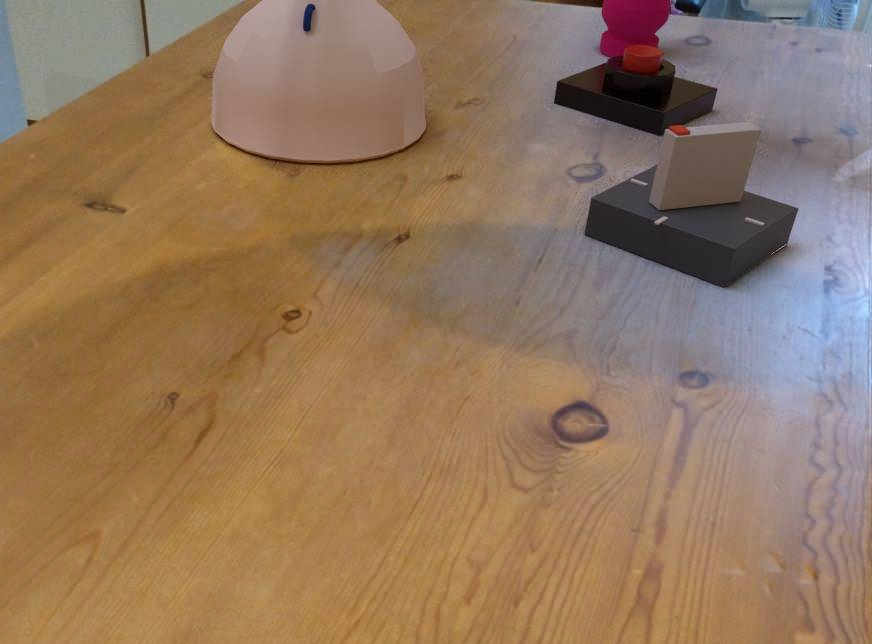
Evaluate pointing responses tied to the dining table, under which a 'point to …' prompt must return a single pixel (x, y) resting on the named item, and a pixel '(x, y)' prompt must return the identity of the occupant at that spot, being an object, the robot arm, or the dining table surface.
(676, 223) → the dial base
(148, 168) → the dining table surface
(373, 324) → the dining table surface
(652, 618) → the dining table surface
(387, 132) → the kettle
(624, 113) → the block
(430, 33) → the dining table surface
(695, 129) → the upright beige slab
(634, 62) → the button
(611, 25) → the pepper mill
